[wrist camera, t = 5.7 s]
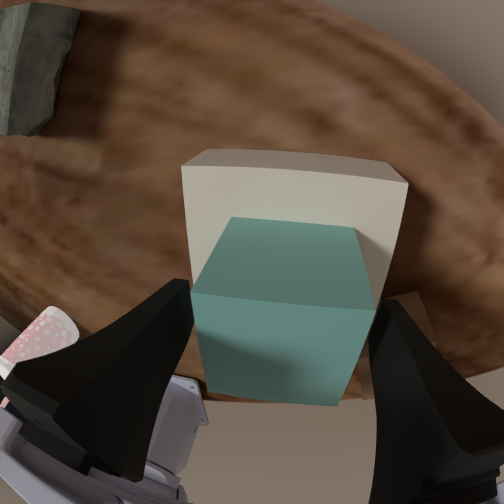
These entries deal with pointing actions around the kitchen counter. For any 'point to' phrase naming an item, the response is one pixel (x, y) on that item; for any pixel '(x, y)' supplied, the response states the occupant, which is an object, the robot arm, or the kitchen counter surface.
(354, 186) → the ceramic base
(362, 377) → the walnut cube
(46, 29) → the stone block
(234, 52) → the kitchen counter surface
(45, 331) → the beverage cup
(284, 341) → the teal cube
